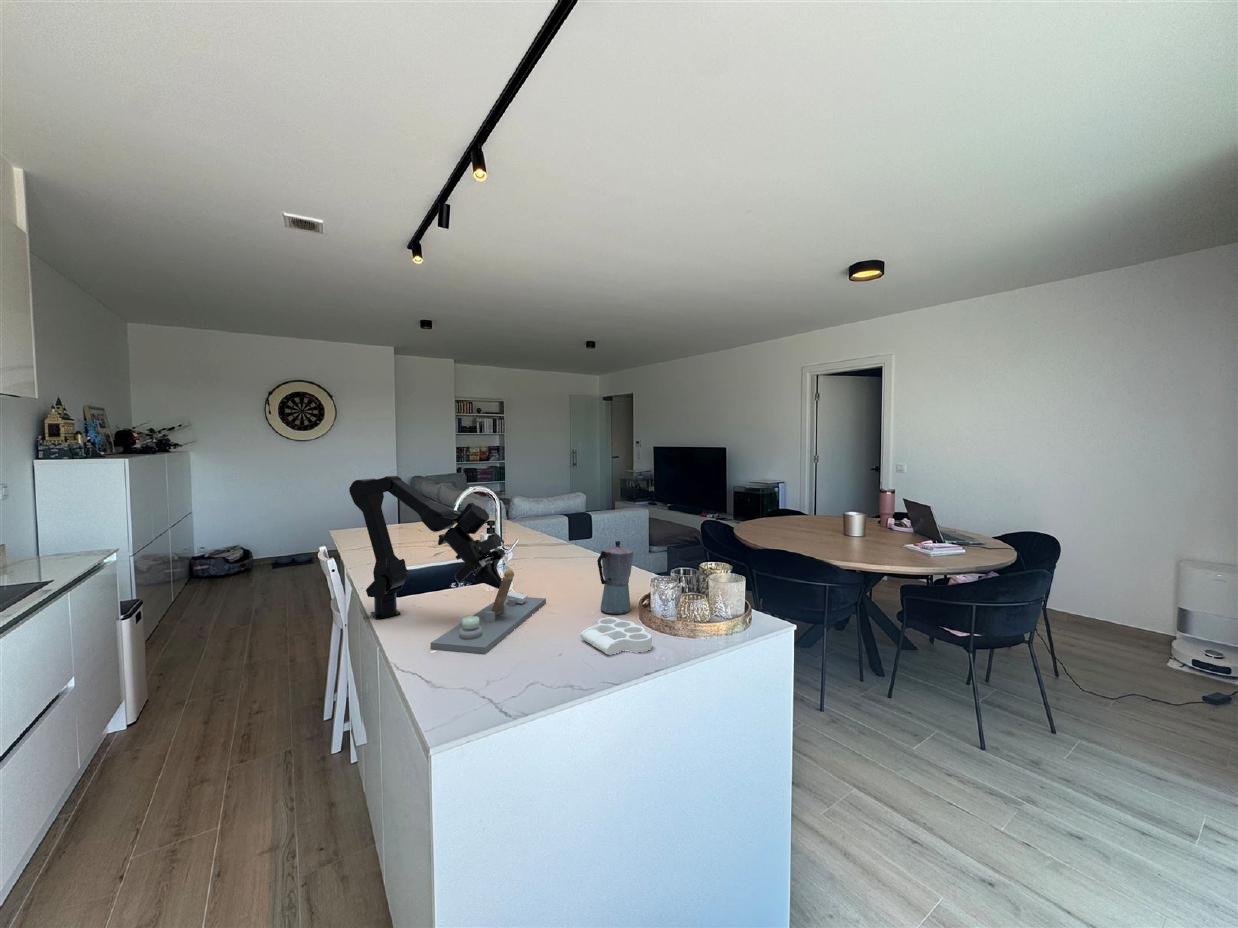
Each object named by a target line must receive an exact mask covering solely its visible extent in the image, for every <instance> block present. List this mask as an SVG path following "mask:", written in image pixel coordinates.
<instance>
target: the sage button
mask: <svg viewBox="0 0 1238 928" xmlns="http://www.w3.org/2000/svg"><path fill="white" fill-rule="evenodd" d="M461 623H462V628H464V629H474V628H477V627H479V617H477V616H473V615H470V616H464V617H463V618H462V619H461Z"/></svg>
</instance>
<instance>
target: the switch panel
mask: <svg viewBox="0 0 1238 928" xmlns="http://www.w3.org/2000/svg"><path fill="white" fill-rule="evenodd" d="M519 593H520V594H524V592H519ZM494 602H495V601H493V602H491V603H490V604H489V605H487V606H485V607H484V608H483V609H480V610H479V611H477V612H476V613H474V614H473V615H472V616H477V617H479V627H477V628H474V629H464V628H462V622H461V623H459V624H457V625H456V626H454V627H453V628H451V629H450V630H447V631H446V632H445V633H443V634H442V635H441V636H439V637H437V638H436V639H434V640H432V641H431V642H430V649H431V650H438V651H449V652H457V653H458V652H459V653H461V652H462V653H471V654H481V655H486V654H487V653H488V652H489V651H490V650H492V649H493V648H494V647H495V646H497V644H499V643H500V642H502V640H504V639H505V638H506V637H507V636H509V635H510V634H511V633H512V632H513V631H515V630H516V629H517V628H519V626H521V625H522V624H523V623H524V622H526V621H527V620H528V619H529V618H531V617H532V616H533V615H532V614H533V613H534V614H535V613H536V612H537V611H538V610H540V609H541V608H542V607H543V606H545V605H546V604H547V597H546V598H545V597H544V598H543V597H532V596H531V597H529V596H528V597H527V600H526V601H525V602H524V603H522V604H521V603H517V602H515V599H512V598H510V599H509V600H505V602H504V605H503V608H502V613H500V614H499V615H498V616H496V617H495V612H492V611H491V610H492V607H493V604H494ZM545 603H546V604H545ZM544 604H545V605H544ZM539 608H540V609H539ZM526 619H527V620H526ZM514 629H515V630H514Z"/></svg>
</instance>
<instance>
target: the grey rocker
mask: <svg viewBox="0 0 1238 928" xmlns="http://www.w3.org/2000/svg"><path fill="white" fill-rule="evenodd" d="M520 593H521V592H515V591H512V590H511V591H510V590H509V591H508V594H507V597H506V600H509V599H510V598H512V599H515V602H517V603H521V604H522V603H524V602H525V601H526V600H527V597H529V596H528V594H524V593H523V594H520Z"/></svg>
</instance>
